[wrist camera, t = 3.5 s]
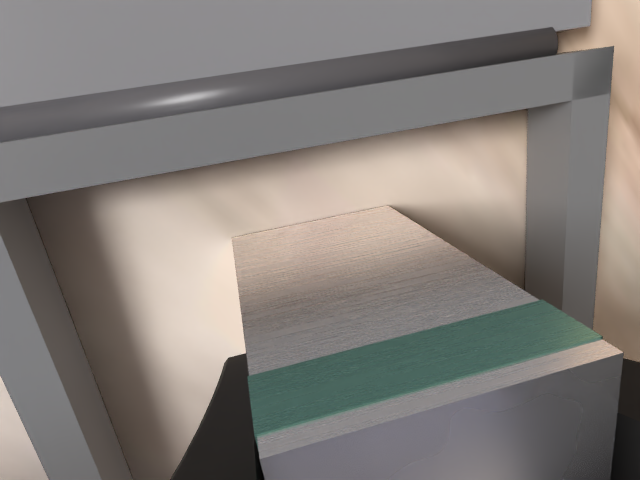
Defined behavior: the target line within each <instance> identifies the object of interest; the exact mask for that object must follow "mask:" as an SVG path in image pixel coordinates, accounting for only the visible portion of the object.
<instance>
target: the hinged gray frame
mask: <svg viewBox="0 0 640 480" xmlns="http://www.w3.org/2000/svg"><path fill="white" fill-rule="evenodd" d="M591 4H592V0H0V376H1V378H2V380H3V382H4V384H5V386H6V388H7V391H8V393H9V395H10V397H11V399H12V401H13V403H14V406H15V408H16V410H17V412H18V414H19V416H20V418H21V421H22V423H23V425H24V427H25V429H26V431H27V433H28V436H29V438H30V440H31V442H32V444H33V446H34V448H35V451H36V453H37V455H38V457H39V459H40V461H41V463H42V466H43V468H44V470H45V472H46V474H47V476H48V478H49V480H133V478H132V476H131V473H130V471H129V468H128V465H127V463H126V460H125V457H124V455H123V452H122V450H121V447H120V444H119V442H118V439H117V436H116V434H115V431H114V429H113V426H112V423H111V421H110V418H109V415H108V413H107V410H106V408H105V405H104V402H103V400H102V397H101V394H100V392H99V389H98V387H97V384H96V381H95V379H94V376H93V373H92V371H91V368H90V366H89V363H88V360H87V358H86V355H85V353H84V350H83V347H82V345H81V342H80V339H79V337H78V334H77V332H76V329H75V326H74V324H73V321H72V318H71V316H70V313H69V311H68V308H67V305H66V303H65V300H64V297H63V295H62V292H61V290H60V287H59V284H58V282H57V279H56V276H55V274H54V271H53V269H52V266H51V263H50V261H49V258H48V256H47V253H46V250H45V248H44V245H43V242H42V240H41V237H40V235H39V232H38V229H37V227H36V224H35V221H34V219H33V216H32V214H31V211H30V208H29V206H28V203H27V200H26V198H28V197H34V196H39V195H45V194H50V193H56V192H62V191H67V190H73V189H78V188H84V187H90V186H95V185H101V184H106V183H112V182H118V181H123V180H129V179H134V178H140V177H146V176H151V175H157V174H162V173H168V172H174V171H179V170H185V169H191V168H196V167H202V166H207V165H213V164H219V163H224V162H230V161H235V160H241V159H247V158H252V157H258V156H263V155H269V154H275V153H280V152H286V151H291V150H297V149H303V148H308V147H314V146H319V145H325V144H331V143H336V142H342V141H348V140H353V139H359V138H364V137H370V136H376V135H381V134H387V133H392V132H398V131H404V130H409V129H415V128H420V127H426V126H432V125H437V124H443V123H448V122H454V121H460V120H465V119H471V118H476V117H482V116H488V115H493V114H499V113H504V112H510V111H516V110H521V109H527V108H528V124H527V190H526V256H525V291H526V292H527V293H529V294H531V295H532V296H534V297H535V298H537V299H539V300H542V299H543V300H544V301H546V302H548V303H549V304H551V305H552V306H554V307H556V308H557V309H559V310H561V311H562V312H564V313H565V314H567V315H569V316H570V317H572V318H574V319H575V320H577V321H578V322H580V323H582V324H583V325H585V326H587V327H588V328H590V329H591V330H593V318H594V305H595V291H596V278H597V265H598V252H599V238H600V225H601V212H602V199H603V186H604V172H605V159H606V146H607V133H608V119H609V106H610V93H611V80H612V66H613V53H614V46H611V47H603V48H596V49H588V50H580V51H572V52H564V53H558V54H557V50H558V38H557V34H556V32H560V31H566V30H572V29H577V28H582V27H588V26H590V22H591Z"/></svg>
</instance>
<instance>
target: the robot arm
mask: <svg viewBox="0 0 640 480" xmlns="http://www.w3.org/2000/svg"><path fill="white" fill-rule="evenodd" d="M247 376H249V371H248V363H247V355H246V354H242V355H238V356H234V357H230V358H228V359H227V360H226V362H225V363H224V366H223V370H222V373H221V376H220V379H219V382H218V384H217V387H216V389H215V392H214V394H213V397H212V399H211V401H210V404H209V406H208V408H207V410H206V413H205V415H204V417H203V419H202V421H201V424H200V426H199V428H198V430H197V432H196V434H195V436H194V437H193V439H192V441H191V443H190V445H189V447H188V449H187V451H186V453H185V454H184V456H183V458H182V460H181V462H180V464H179V465H178V467H177V469H176V471H175V472H174V474H173V476H172V477H171V479H170V480H265V479H264V475H263V471H262V467H261V463H260V458H259V452H258V448H257V444H256V440H255V436H254V428H253V419H252V411H251V403H250V394H249V386H248V378H247ZM610 480H640V362H636V361H632V360H628V359H624V358H623V364H622V373H621V383H620V392H619V402H618V411H617V421H616V430H615V440H614V449H613V459H612V468H611V478H610Z"/></svg>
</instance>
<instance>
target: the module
mask: <svg viewBox="0 0 640 480" xmlns="http://www.w3.org/2000/svg"><path fill="white" fill-rule="evenodd" d="M232 244H233V252H234V260H235V268H236V276H237V284H238V291H239V299H240V307H241V315H242V323H243V331H244V339H245V347H246V355H247V363H248V371H249V376H247V378H248V386H249V394H250V403H251V411H252V419H253V428H254V436H255V440H256V444H257V448H258V452H259V458H260V463H261V467H262V471H263V475H264V479H265V480H610V478H611V468H612V459H613V449H614V440H615V430H616V421H617V411H618V402H619V392H620V383H621V373H622V364H623V354H624V352H622V351H621V350H619V349H617V348H616V347H614V346H612V345H611V344H609V343H608V342H606V341H604V340H603V336H601V335H600V334H598V333H596V332H595V331H593V330H591V329H590V328H588V327H587V326H585V325H583V324H582V323H580V322H578V321H577V320H575V319H574V318H572V317H570V316H569V315H567V314H565V313H564V312H562V311H561V310H559V309H557V308H556V307H554V306H552V305H551V304H549V303H548V302H546V301H544V300H543V299H542V300H539V299H537V298H535V297H534V296H532V295H531V294H529V293H527V292H526V291H524V290H523V289H521V288H519V287H518V286H516V285H515V284H513V283H511V282H510V281H508V280H507V279H505V278H503V277H502V276H500V275H499V274H497V273H495V272H494V271H492V270H491V269H489V268H487V267H486V266H484V265H483V264H481V263H479V262H478V261H476V260H475V259H473V258H471V257H470V256H468V255H467V254H465V253H463V252H462V251H460V250H458V249H457V248H455V247H454V246H452V245H450V244H449V243H447V242H446V241H444V240H442V239H441V238H439V237H438V236H436V235H434V234H433V233H431V232H430V231H428V230H426V229H425V228H423V227H422V226H420V225H418V224H417V223H415V222H414V221H412V220H410V219H409V218H407V217H406V216H404V215H402V214H401V213H399V212H398V211H396V210H394V209H393V208H391V207H390V206H388V205H387V206H382V207H378V208H373V209H368V210H363V211H358V212H353V213H349V214H344V215H339V216H334V217H329V218H324V219H320V220H315V221H310V222H305V223H300V224H295V225H291V226H286V227H281V228H276V229H271V230H266V231H262V232H257V233H252V234H247V235H242V236H238V237H233V238H232Z"/></svg>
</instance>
